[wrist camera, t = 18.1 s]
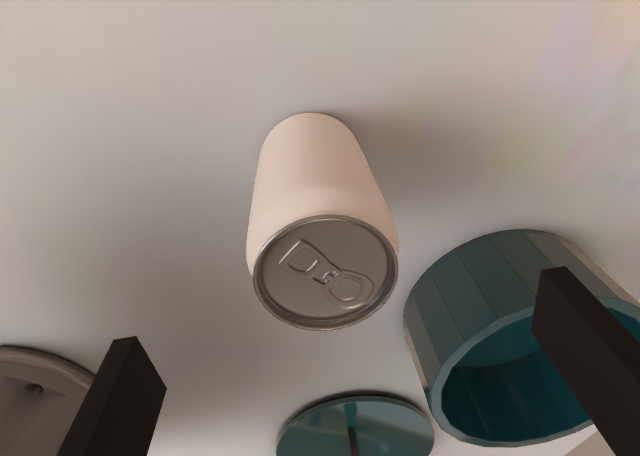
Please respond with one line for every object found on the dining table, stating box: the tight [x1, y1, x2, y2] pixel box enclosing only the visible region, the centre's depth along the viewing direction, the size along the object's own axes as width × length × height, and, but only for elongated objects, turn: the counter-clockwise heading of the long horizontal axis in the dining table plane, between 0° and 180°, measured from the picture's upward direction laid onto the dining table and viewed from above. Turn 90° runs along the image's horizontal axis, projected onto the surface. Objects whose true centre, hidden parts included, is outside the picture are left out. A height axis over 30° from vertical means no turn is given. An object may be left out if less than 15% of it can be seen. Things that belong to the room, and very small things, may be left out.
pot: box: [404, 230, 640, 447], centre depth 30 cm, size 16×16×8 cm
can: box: [246, 113, 399, 331], centre depth 20 cm, size 6×6×12 cm
